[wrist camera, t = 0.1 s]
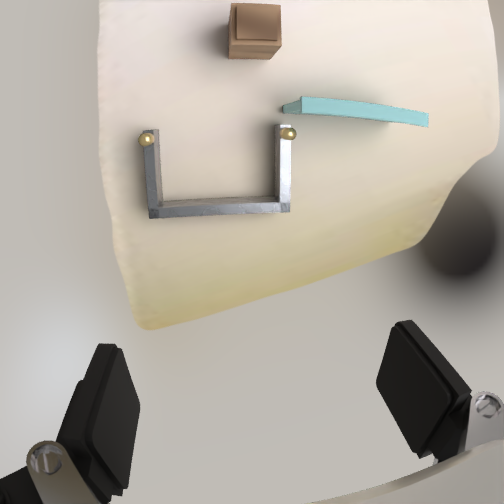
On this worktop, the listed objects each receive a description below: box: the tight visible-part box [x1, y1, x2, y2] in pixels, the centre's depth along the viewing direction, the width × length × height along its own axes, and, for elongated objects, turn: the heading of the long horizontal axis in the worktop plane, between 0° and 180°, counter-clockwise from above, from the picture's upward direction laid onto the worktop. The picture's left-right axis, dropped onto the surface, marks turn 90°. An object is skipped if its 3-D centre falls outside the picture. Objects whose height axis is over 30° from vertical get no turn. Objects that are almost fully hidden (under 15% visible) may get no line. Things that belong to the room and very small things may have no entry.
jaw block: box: [228, 3, 282, 59], centre depth 28 cm, size 5×5×8 cm
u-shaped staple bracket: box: [138, 125, 296, 219], centre depth 35 cm, size 10×17×6 cm, turn 91°
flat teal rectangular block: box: [283, 97, 428, 127], centre depth 32 cm, size 2×15×9 cm, turn 90°
